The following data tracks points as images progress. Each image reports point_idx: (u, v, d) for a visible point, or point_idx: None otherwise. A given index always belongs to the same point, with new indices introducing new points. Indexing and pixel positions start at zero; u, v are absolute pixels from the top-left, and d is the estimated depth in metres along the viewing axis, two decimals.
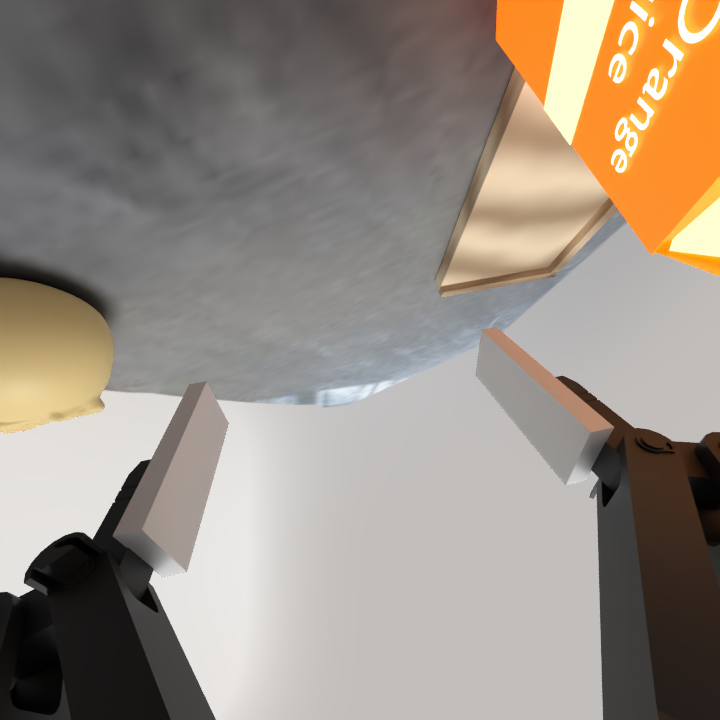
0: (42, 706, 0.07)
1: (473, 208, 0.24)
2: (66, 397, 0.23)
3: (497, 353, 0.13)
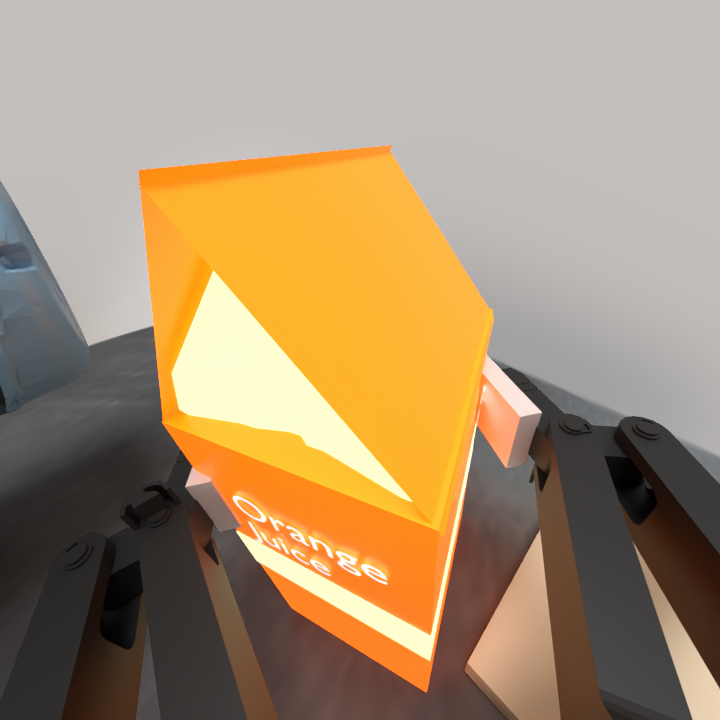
0: (120, 639, 0.08)
1: None
2: None
3: None
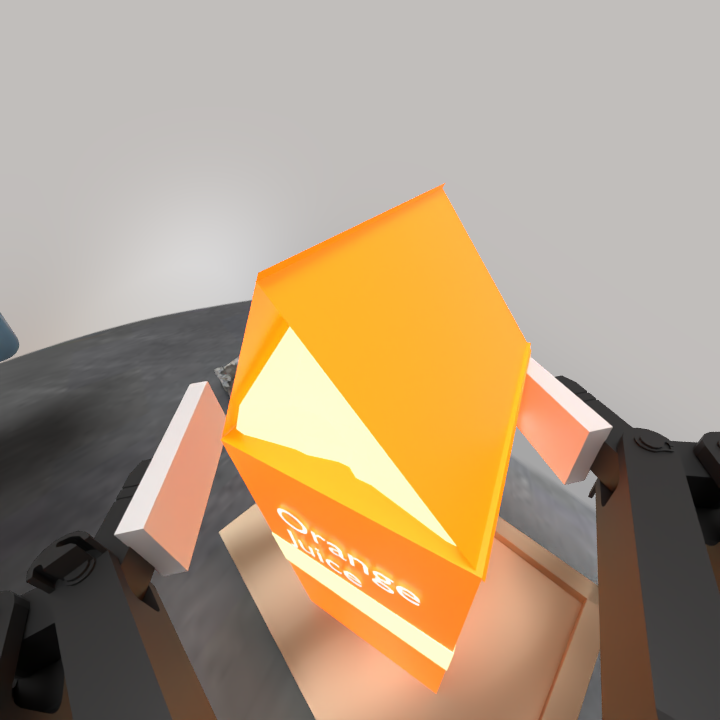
0: (43, 704, 0.07)
1: (280, 646, 0.16)
2: None
3: None
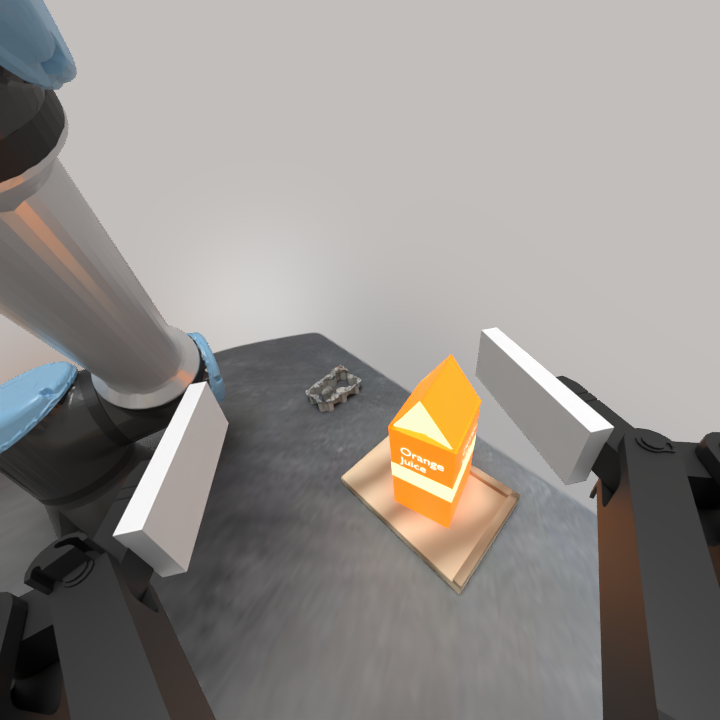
0: (42, 706, 0.07)
1: (383, 516, 0.39)
2: None
3: (497, 353, 0.13)
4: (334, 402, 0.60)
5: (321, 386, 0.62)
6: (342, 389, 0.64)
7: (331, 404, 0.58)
